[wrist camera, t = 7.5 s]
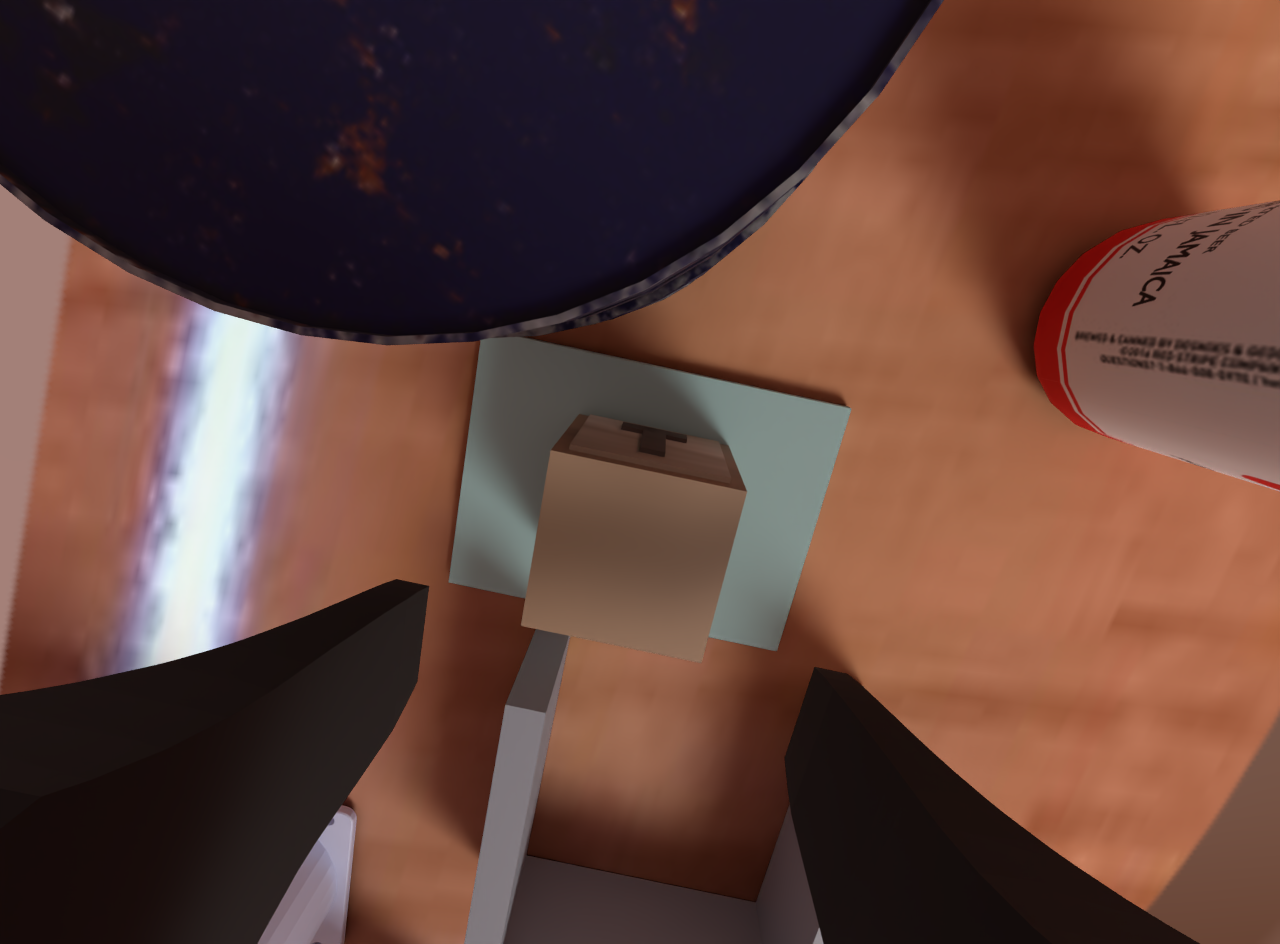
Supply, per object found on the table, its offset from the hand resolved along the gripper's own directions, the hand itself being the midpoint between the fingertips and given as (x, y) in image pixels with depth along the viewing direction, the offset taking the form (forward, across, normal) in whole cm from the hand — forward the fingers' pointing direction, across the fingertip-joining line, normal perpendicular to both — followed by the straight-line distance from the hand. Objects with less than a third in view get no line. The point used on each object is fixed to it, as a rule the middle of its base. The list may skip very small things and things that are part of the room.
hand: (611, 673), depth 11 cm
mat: (+10, 0, 0) cm, 10 cm away
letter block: (+10, 0, 0) cm, 10 cm away
